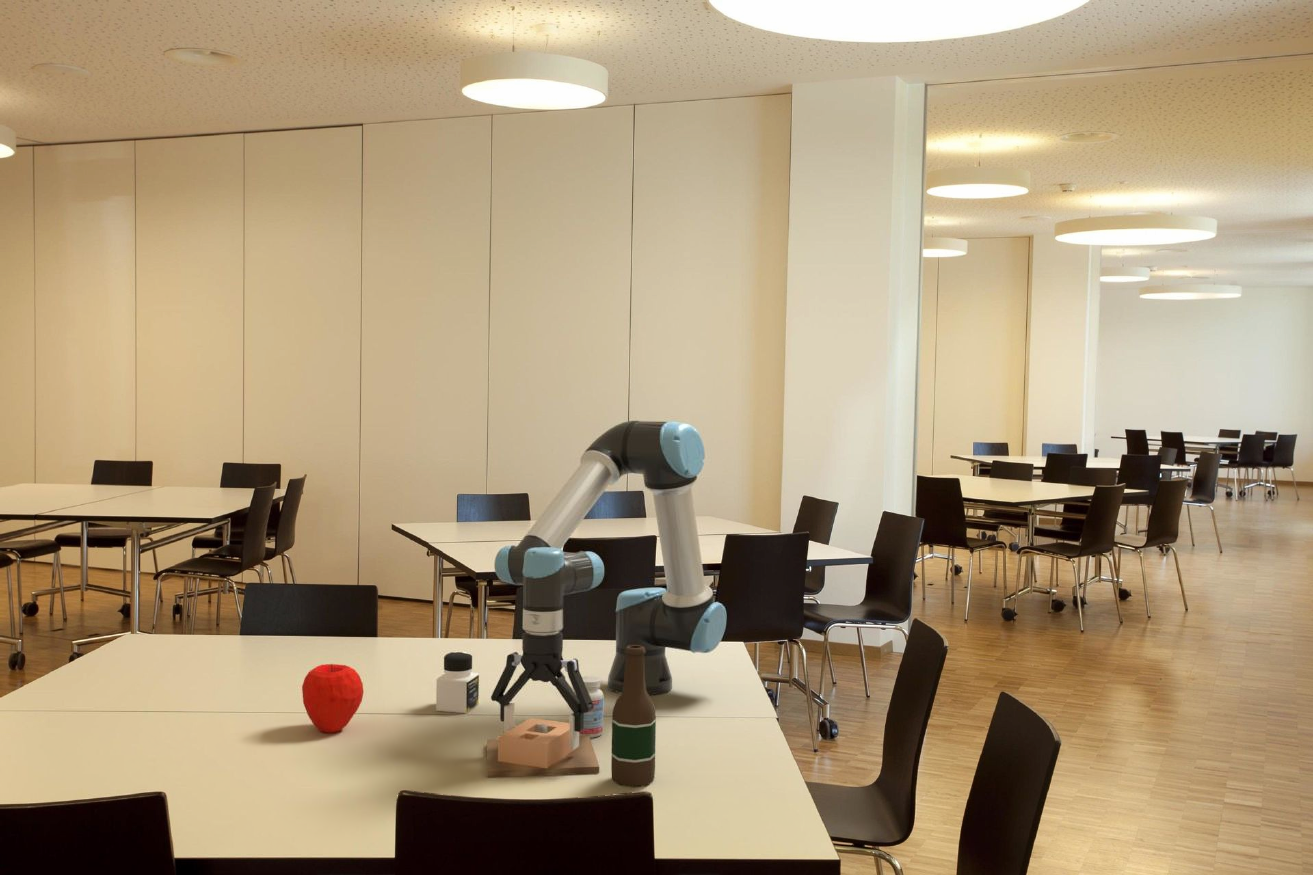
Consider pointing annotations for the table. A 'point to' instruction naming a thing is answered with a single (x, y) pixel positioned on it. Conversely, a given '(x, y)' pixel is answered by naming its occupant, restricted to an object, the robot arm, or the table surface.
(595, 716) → the pill bottle
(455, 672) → the medicine bottle
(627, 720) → the beer bottle
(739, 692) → the table surface
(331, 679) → the apple
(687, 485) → the robot arm
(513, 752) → the salmon block with slots
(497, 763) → the post board
